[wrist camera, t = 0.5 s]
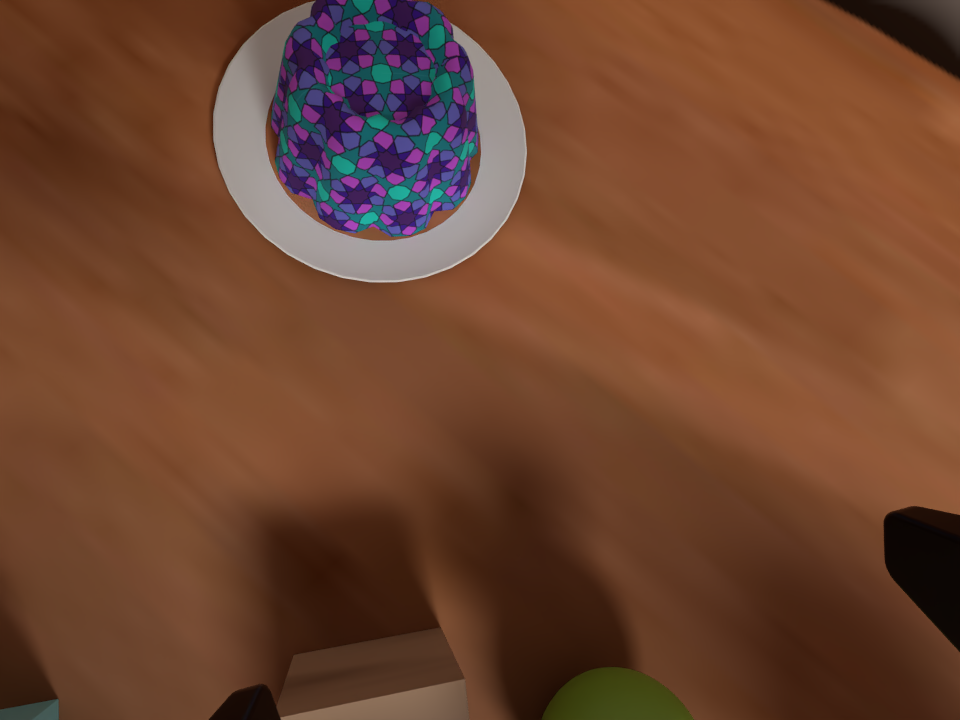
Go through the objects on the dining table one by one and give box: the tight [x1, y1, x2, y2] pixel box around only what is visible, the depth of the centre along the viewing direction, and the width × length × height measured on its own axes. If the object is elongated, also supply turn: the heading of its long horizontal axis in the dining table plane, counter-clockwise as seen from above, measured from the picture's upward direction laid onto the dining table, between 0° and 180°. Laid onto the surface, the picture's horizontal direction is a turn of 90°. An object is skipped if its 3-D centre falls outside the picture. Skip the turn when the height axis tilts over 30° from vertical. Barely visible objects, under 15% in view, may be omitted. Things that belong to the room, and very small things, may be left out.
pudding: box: [213, 0, 527, 282], centre depth 21 cm, size 12×12×5 cm
